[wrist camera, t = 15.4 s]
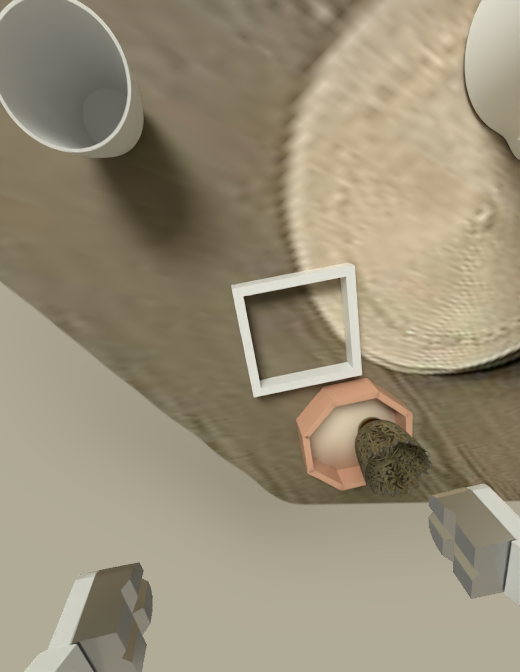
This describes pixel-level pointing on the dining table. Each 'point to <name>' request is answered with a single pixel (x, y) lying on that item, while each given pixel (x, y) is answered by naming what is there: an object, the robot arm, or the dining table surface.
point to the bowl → (344, 428)
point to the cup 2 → (389, 457)
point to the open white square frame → (350, 326)
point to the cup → (67, 79)
